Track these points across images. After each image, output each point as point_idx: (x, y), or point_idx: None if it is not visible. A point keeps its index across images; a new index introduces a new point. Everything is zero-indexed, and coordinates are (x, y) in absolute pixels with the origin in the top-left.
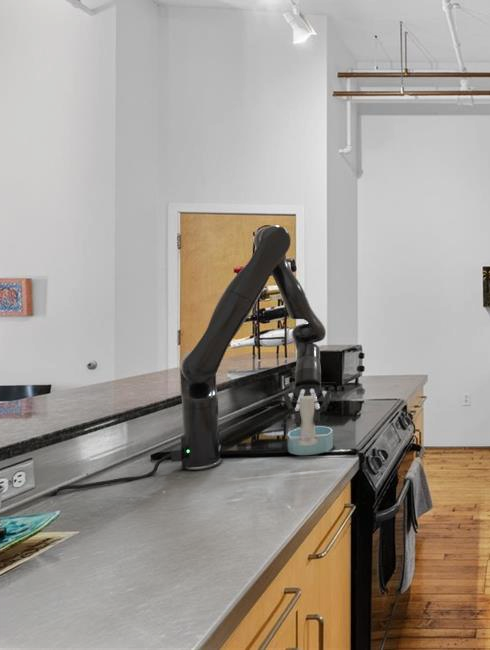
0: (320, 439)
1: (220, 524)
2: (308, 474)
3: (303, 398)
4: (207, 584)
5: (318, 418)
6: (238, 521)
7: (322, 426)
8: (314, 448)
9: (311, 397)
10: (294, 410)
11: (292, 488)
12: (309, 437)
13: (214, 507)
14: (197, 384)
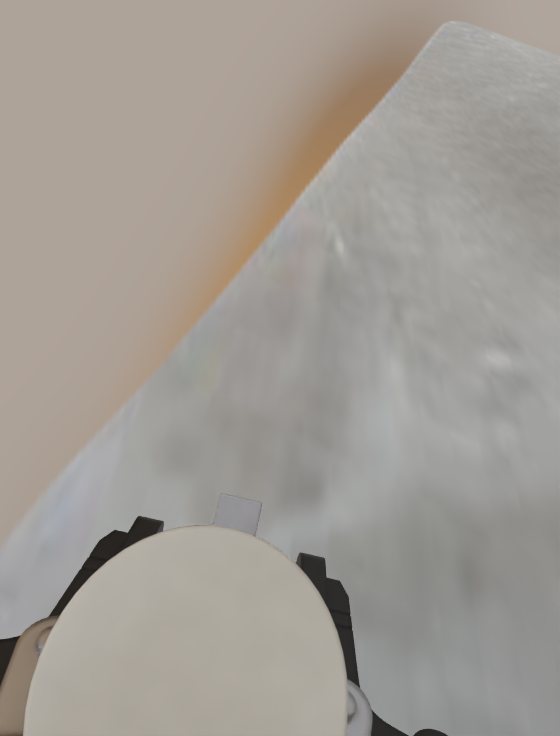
0: None
1: (501, 237)
2: (244, 471)
3: (280, 576)
4: (468, 84)
5: (109, 544)
6: (462, 232)
7: None
8: None
9: (114, 596)
10: (373, 730)
11: (322, 360)
12: (225, 495)
13: (548, 335)
14: None
